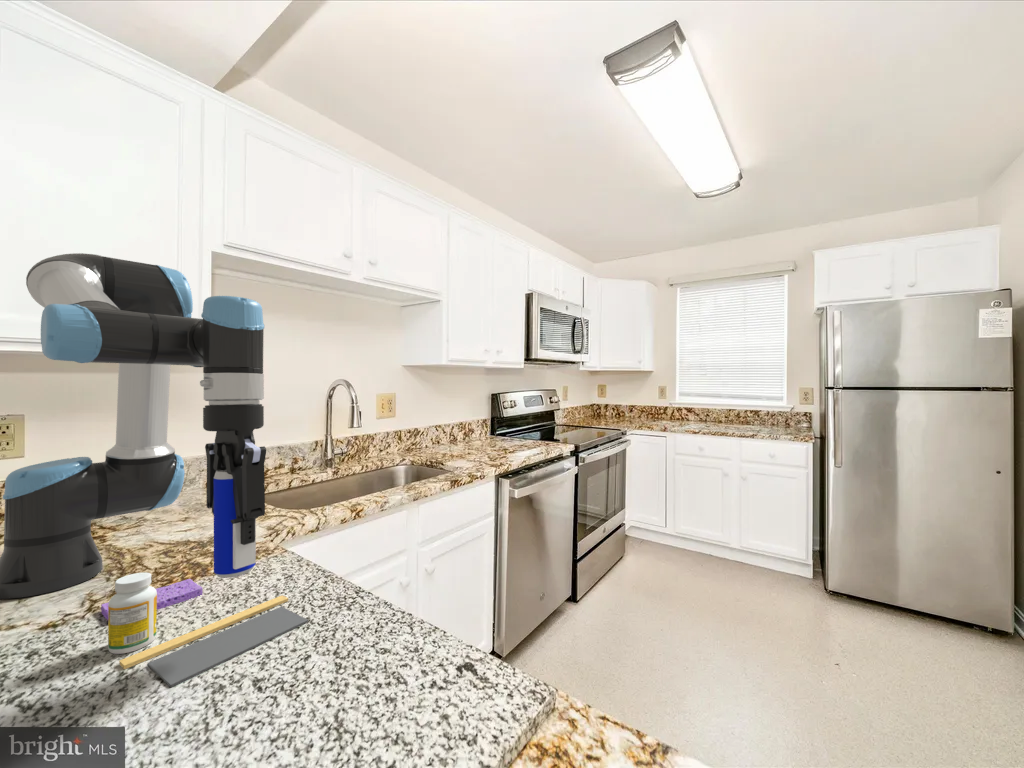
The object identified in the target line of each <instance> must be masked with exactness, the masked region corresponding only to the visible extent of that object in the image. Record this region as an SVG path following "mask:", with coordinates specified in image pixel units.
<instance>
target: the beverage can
mask: <svg viewBox="0 0 1024 768" xmlns="http://www.w3.org/2000/svg"><path fill="white" fill-rule="evenodd" d="M233 519H236V511H235V503H234V495H233V476H232V475H231V474H228V473H227V470H217V471H216V473H215V476H214V514H213V573H214V574H215V575H216V577H218V578H221V579H228V578H231V579H232V578H237V577H241V576H243V575H245V574H248V573H249V572H251V571H252V570H253V569H254V567H255V566H256V563H254V564H251V565H248V566H245V567H242V568H239V569H233V524H232V523H231V520H233Z"/></svg>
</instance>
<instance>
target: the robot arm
mask: <svg viewBox="0 0 1024 768" xmlns="http://www.w3.org/2000/svg"><path fill="white" fill-rule="evenodd" d="M25 278H26V279H25V281H26V282H25V283H26V284H25V285H26V287H27V290H28V294H30V296H31V298H32V299H33V300H34V301H35V302H36V303H37V304H38V305H39V306H41V307H42V308H43V309H42V313H41V317H40V318H41V319H40V345H41V351H42V354H43V355H44V356H45V357H46V358H48V359H49V360H51V361H62V362H63V361H64V362H65V361H66V362H75V363H78V364H88V363H95V364H97V363H98V364H102V363H103V364H104V363H105V364H118V375H117V377H118V378H117V400H116V401H117V402H116V403H117V404H116V426H115V427H116V428H115V429H116V430H115V431H116V432H115V444H114V445H113V446H112V447H111V448H110V449H108V450H107V451H106V452H105V461H101V462H93V460H92V459H91V457H89V456H77V457H71V458H69V457H68V458H63V459H62V458H61V459H56V460H51V461H50V460H49V461H46V462H45V461H44V462H40V463H36V464H32V465H27V466H24V467H20V468H18V469H15V470H13V471H11V472H10V473H9V474H8V475H7V476H6V477H5V480H4V482H5V484H4V493H3V495H2V500H4V523H3V524H4V525H3V526H4V527H3V551H2V554H1V556H0V600H4V599H5V600H7V599H8V600H9V599H18V598H19V599H20V598H26V597H32V596H37V595H42V594H43V595H45V594H47V593H51V592H55V591H59V590H63V589H66V588H69V587H73V586H77V585H78V584H81V583H83V582H86V581H88V580H91V579H92V577H93V578H94V577H96V576H97V575H96V574H98V573H99V572H100V571H101V570H102V571H103V557H102V556H101V553H100V550H99V549H98V547H97V544H96V543H95V541H94V539H93V536H92V530H91V528H92V526H91V525H92V521H95V520H99V519H104V518H106V519H107V518H111V517H116V516H123V515H128V514H133V513H140V512H145V511H146V512H149V511H153V510H156V509H159V508H165V507H168V506H170V505H172V504H173V503H174V502H175V501H177V499H178V498H179V497H180V494H181V492H182V488H183V485H184V480H185V474H186V473H185V468H184V467H185V463H184V459H183V457H182V456H181V455H179V454H177V453H175V452H176V449H175V447H174V446H172V445H171V444H170V443H168V427H169V422H168V421H169V405H170V404H169V403H170V381H171V378H170V377H171V366H172V365H173V366H191V367H193V368H202V373H203V379H202V380H200V381H199V385H200V387H203V400H204V401H205V402H208V404H207V405H204V407H203V408H202V421H203V422H202V424H203V425H202V428H203V430H205V431H206V432H215V436H214V437H215V438H214V442H211V443H210V442H209V443H205V447H204V449H205V456H206V508H207V509H211V513H212V515H214V476H215V473H216V471H217V470H227V473H228V474H231V475H232V476H233V495H234V503H235V511H236V519H233V520H231V523H232V524H233V569H239V568H242V567H245V566H248V565H251V564H254V563H255V564H256V562H257V560H256V559H257V552H256V550H257V549H256V548H257V546H256V543H257V542H256V541H257V540H256V539H257V538H256V537H257V531H256V528H257V527H256V519H258V518H259V517H263V516H265V514H266V494H265V493H266V492H265V489H266V488H265V487H266V486H265V483H266V481H265V461H266V455H267V448H266V446H265V445H264V446H257V445H256V439H255V436H254V435H255V434H254V430H258V429H261V428H263V427H264V424H265V422H264V419H265V418H264V417H265V416H264V415H265V414H264V413H265V412H264V411H265V408H264V407H265V406H264V405H263V404H262V403H260V401H263V399H264V398H265V391H264V390H265V387H264V386H265V385H264V383H265V379H264V378H265V375H264V329H265V324H264V315H263V314H264V313H263V306H262V304H261V303H260V302H258V301H256V300H255V299H251V298H247V297H241V296H234V295H233V296H232V295H231V296H230V295H213V296H209V297H206V298H205V299H204V301H203V305H202V307H203V308H202V312H201V315H200V316H201V318H196V317H192V315H193V314H192V313H193V310H194V308H193V304H194V303H193V301H194V300H193V295H192V291H191V289H192V288H191V286H190V283H189V281H188V279H187V277H186V276H185V275H184V274H183V273H182V272H181V271H179V270H177V269H173V268H169V267H165V266H161V265H158V264H151V263H144V262H138V261H132V260H127V259H120V258H115V257H114V258H113V257H109V256H102V255H99V254H92V253H82V252H81V253H80V252H79V253H78V252H77V253H74V252H73V253H66V254H65V253H64V254H59V255H58V254H57V255H54V256H50V257H47V258H44V259H42V260H40V261H38V262H35V264H34V265H33V266H32V267H31V268H30V269H29V270H28V272H27V274H26V277H25ZM102 571H101V572H102ZM101 572H100V573H101ZM100 573H99V574H100ZM99 574H98V575H99ZM95 575H96V576H95ZM90 578H91V579H90Z"/></svg>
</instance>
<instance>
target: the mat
mask: <svg viewBox="0 0 1024 768" xmlns="http://www.w3.org/2000/svg"><path fill="white" fill-rule="evenodd" d="M308 622H309V619H308V618H305V617H303V616H301V615H300V614H297V613H295V612H293V611H291V610H289V609H287V608H286V607H283V606H278V607H277V608H274V609H272V610H269V611H267V612H265V613H263V614H261V615H258V616H256V617H253V618H251V619H248V620H247V621H244V622H240V623H239V624H237V625H234V626H232V627H229V628H227V629H225V630H223V631H220V632H217V633H216V634H213V635H210V636H208V637H206V638H204V639H201V640H199V641H197V642H194V643H191V644H190V645H187V646H185V647H182V648H179V649H178V650H175V651H172V652H170V653H168V654H166V655H164V656H161V657H158V658H155V659H153V660H152V661H149V662H147V663H146V665H147V667H149V668H150V669H151V670H152V671H153V672H154V674H156V675H157V677H159V678H160V679H161V680H162V681H163V682H164V683H166V685H168V686H169V688H172V687H175V686H177V685H179V684H181V683H183V682H186V681H188V680H189V679H192V678H194V677H196V676H198V675H200V674H202V673H204V672H206V671H209V670H210V669H212V668H214V667H217V666H219V665H221V664H223V663H225V662H227V661H229V660H231V659H233V658H235V657H238V656H241V655H242V654H244V653H246V652H248V651H251V650H252V649H255V648H256V647H260V646H261V645H262V644H264V643H268V642H269V641H272V640H273V639H276V638H278V637H279V636H282V635H284V634H286V633H288V632H290V631H292V630H294V629H296V628H299V627H301V626H302V625H305V624H307V623H308ZM216 665H217V666H216Z"/></svg>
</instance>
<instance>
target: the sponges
mask: <svg viewBox="0 0 1024 768" xmlns="http://www.w3.org/2000/svg"><path fill="white" fill-rule="evenodd" d="M155 589H156V591H157V611H158V610H161V609H163V608H164V609H165V608H168V607H171V606H173V605H176V604H180V603H184V602H186V600H187V601H189V599H190V600H192V599H191V598H193V599H195V597H196V598H198V597H197V596H199V597H201V596H200V595H202V596H203V594H204V593H203V589H204V588H203V587H202V586H201V585H200V584H197V583H196V582H194V581H193V579H191V578H187V579H185V580H181V581H177V582H175V583H172V584H170V585H165V586H162V587H158V588H155ZM108 605H109V601H108V602H106V603H101V605H100V611H101V614H102V616H103V617H104V619H106V620H107V622H108Z"/></svg>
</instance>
